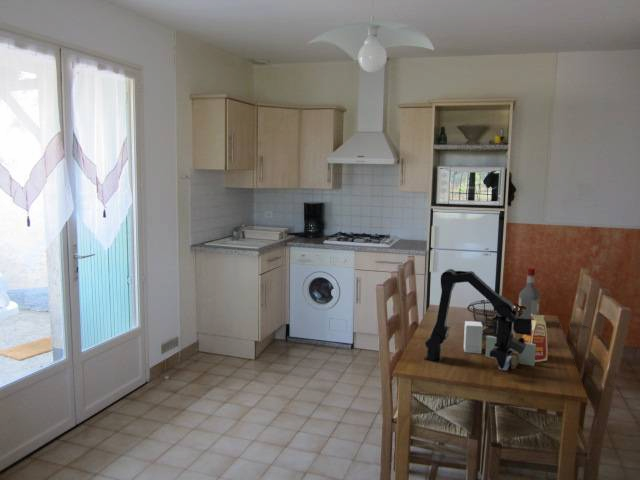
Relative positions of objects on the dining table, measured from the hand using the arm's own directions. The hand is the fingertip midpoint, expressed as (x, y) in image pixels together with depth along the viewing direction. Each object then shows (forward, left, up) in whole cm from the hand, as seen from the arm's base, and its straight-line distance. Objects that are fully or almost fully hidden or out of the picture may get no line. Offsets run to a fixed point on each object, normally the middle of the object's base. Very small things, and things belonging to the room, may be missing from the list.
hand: (501, 368), depth 213 cm
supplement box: (+17, +17, -1) cm, 24 cm away
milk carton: (+23, -8, -1) cm, 24 cm away
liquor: (+73, +4, -1) cm, 73 cm away
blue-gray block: (+6, 0, -1) cm, 6 cm away
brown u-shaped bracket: (+8, 0, -1) cm, 8 cm away
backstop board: (+14, 0, -1) cm, 14 cm away
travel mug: (+36, +7, -1) cm, 37 cm away
